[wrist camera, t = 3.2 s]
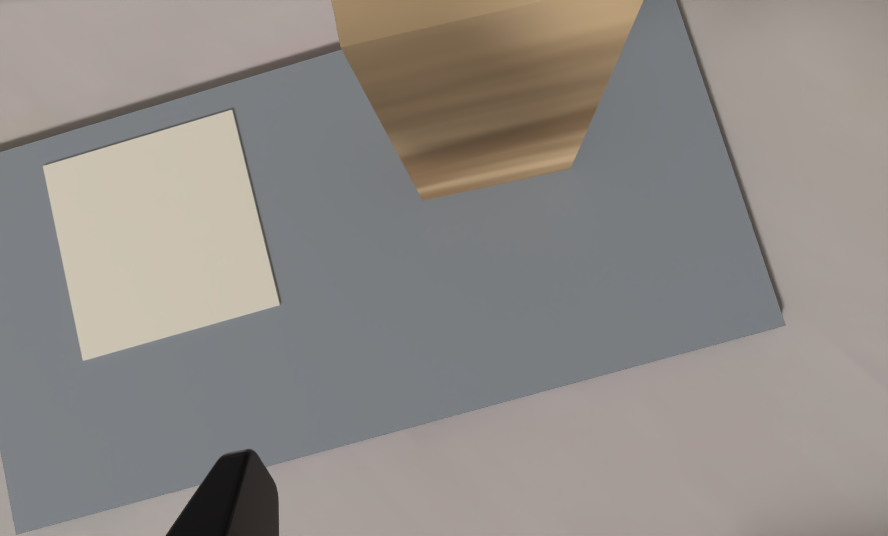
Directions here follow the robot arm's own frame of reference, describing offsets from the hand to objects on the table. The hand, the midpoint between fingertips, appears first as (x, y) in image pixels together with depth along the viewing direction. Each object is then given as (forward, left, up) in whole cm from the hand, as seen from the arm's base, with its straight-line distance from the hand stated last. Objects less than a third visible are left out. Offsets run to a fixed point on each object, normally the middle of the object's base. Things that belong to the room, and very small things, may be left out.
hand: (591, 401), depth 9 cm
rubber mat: (0, +8, -14) cm, 16 cm away
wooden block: (+6, +6, -13) cm, 15 cm away
